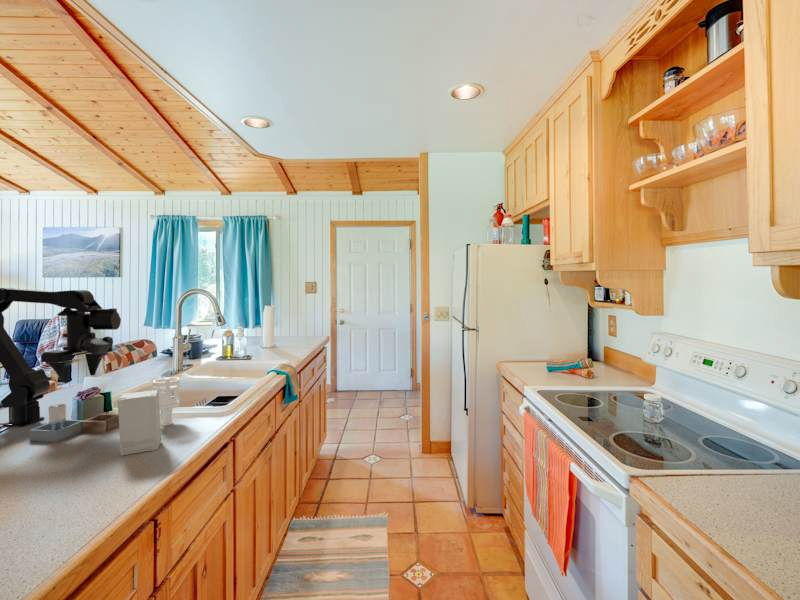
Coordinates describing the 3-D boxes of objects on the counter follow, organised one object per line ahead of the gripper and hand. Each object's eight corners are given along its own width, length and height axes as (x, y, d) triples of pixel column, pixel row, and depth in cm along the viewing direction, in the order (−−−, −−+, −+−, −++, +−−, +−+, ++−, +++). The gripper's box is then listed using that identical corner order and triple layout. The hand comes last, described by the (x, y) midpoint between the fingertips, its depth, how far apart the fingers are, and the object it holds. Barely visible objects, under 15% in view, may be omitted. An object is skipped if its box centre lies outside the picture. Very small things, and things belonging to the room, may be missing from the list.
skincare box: (161, 441, 99) (161, 388, 99) (157, 451, 94) (157, 394, 94) (123, 447, 96) (123, 392, 95) (117, 457, 90) (117, 398, 90)
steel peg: (45, 436, 100) (45, 407, 100) (58, 431, 104) (57, 403, 104) (57, 436, 100) (57, 408, 100) (69, 431, 104) (69, 404, 103)
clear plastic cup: (153, 430, 107) (153, 380, 107) (151, 422, 113) (151, 375, 112) (181, 424, 112) (181, 377, 111) (178, 418, 117) (177, 372, 117)
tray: (29, 440, 98) (29, 430, 98) (58, 429, 106) (58, 419, 106) (57, 441, 98) (57, 431, 98) (83, 430, 106) (83, 420, 106)
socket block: (81, 431, 105) (81, 421, 105) (101, 422, 112) (101, 413, 112) (103, 432, 105) (103, 422, 105) (121, 423, 111) (121, 414, 111)
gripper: (75, 334, 104) (76, 388, 104) (127, 327, 122) (127, 372, 123) (38, 333, 104) (39, 386, 105) (95, 326, 123) (96, 371, 123)
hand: (79, 378), depth 114 cm, fingers open, 9 cm apart
